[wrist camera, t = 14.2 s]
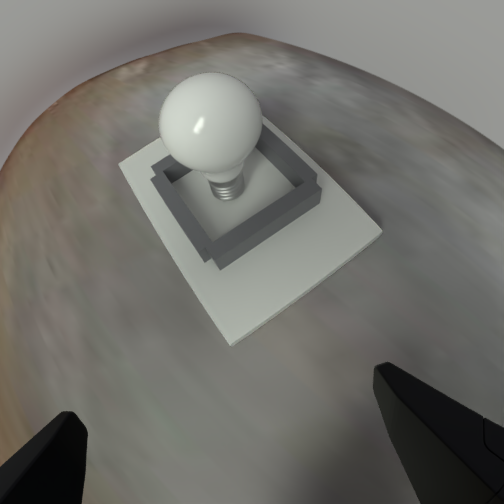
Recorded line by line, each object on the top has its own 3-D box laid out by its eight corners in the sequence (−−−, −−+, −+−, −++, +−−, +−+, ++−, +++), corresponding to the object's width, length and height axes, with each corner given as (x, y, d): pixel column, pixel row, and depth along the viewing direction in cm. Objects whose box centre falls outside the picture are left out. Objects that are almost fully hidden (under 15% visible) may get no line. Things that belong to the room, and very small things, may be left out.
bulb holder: (379, 236, 24) (390, 218, 21) (231, 346, 22) (224, 341, 19) (239, 101, 31) (235, 80, 29) (122, 170, 29) (109, 151, 26)
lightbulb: (207, 156, 27) (175, 53, 17) (277, 168, 26) (271, 56, 16) (179, 217, 25) (124, 117, 15) (255, 234, 24) (235, 126, 14)
